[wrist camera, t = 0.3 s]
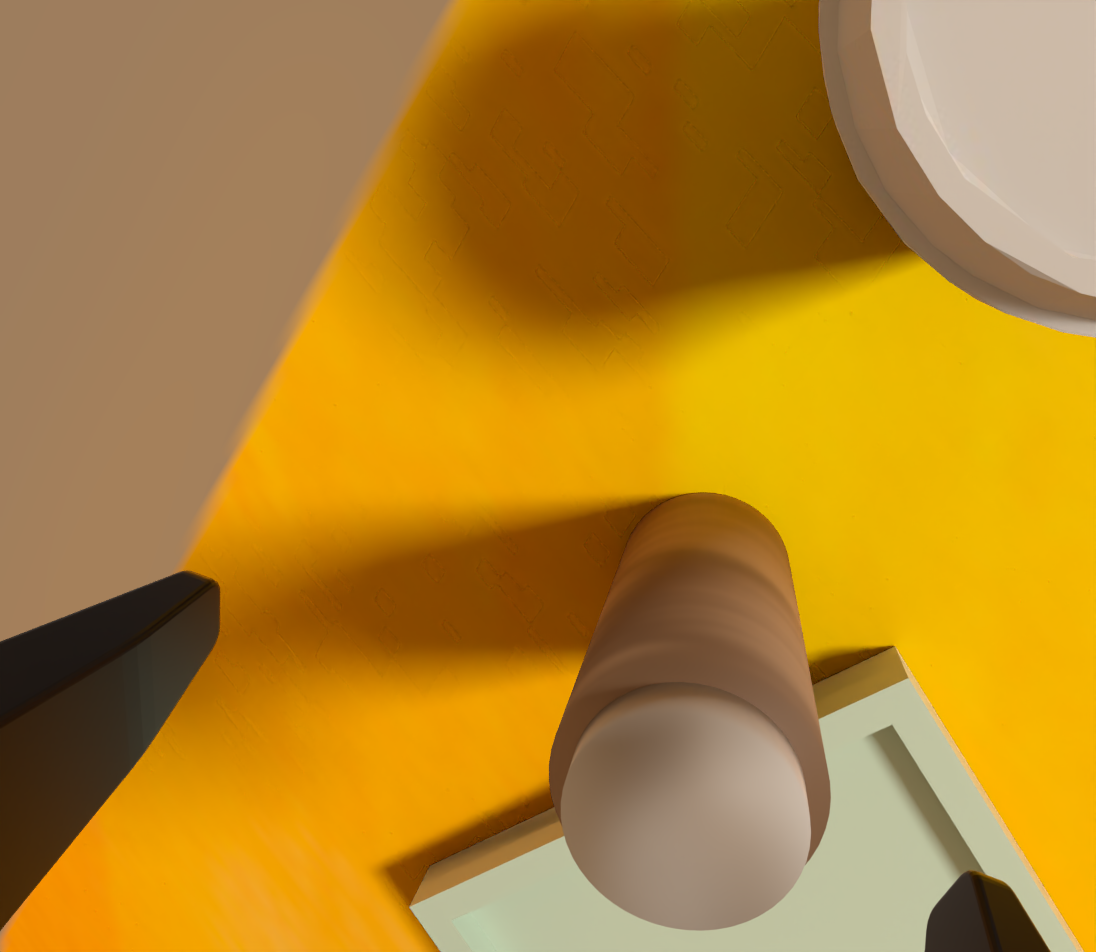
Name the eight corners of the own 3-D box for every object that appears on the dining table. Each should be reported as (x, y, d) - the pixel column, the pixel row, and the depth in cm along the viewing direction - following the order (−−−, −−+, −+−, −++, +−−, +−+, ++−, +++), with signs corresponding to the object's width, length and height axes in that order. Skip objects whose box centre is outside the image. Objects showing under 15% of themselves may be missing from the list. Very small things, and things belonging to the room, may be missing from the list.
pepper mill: (677, 674, 27) (635, 988, 15) (591, 543, 26) (482, 764, 15) (821, 602, 25) (896, 888, 14) (734, 462, 25) (735, 636, 13)
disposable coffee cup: (703, 158, 23) (674, 61, 12) (965, -205, 20) (1272, -816, 9) (996, 379, 23) (1258, 499, 11) (1303, 44, 20) (2068, -243, 9)
